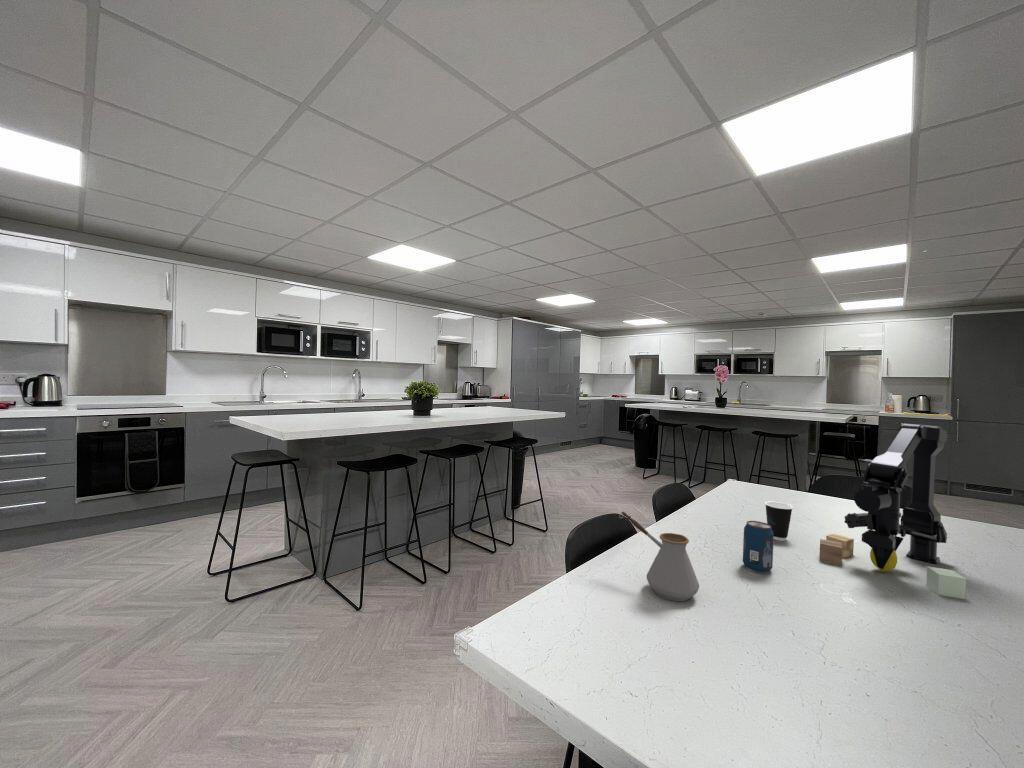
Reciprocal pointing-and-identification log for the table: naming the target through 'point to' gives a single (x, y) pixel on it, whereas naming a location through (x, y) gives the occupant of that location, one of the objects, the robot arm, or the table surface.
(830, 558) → the walnut block
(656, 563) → the coffee pot
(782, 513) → the dixie cup
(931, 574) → the sage block
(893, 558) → the lemon
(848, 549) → the oak block
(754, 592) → the table surface
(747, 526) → the soda can
